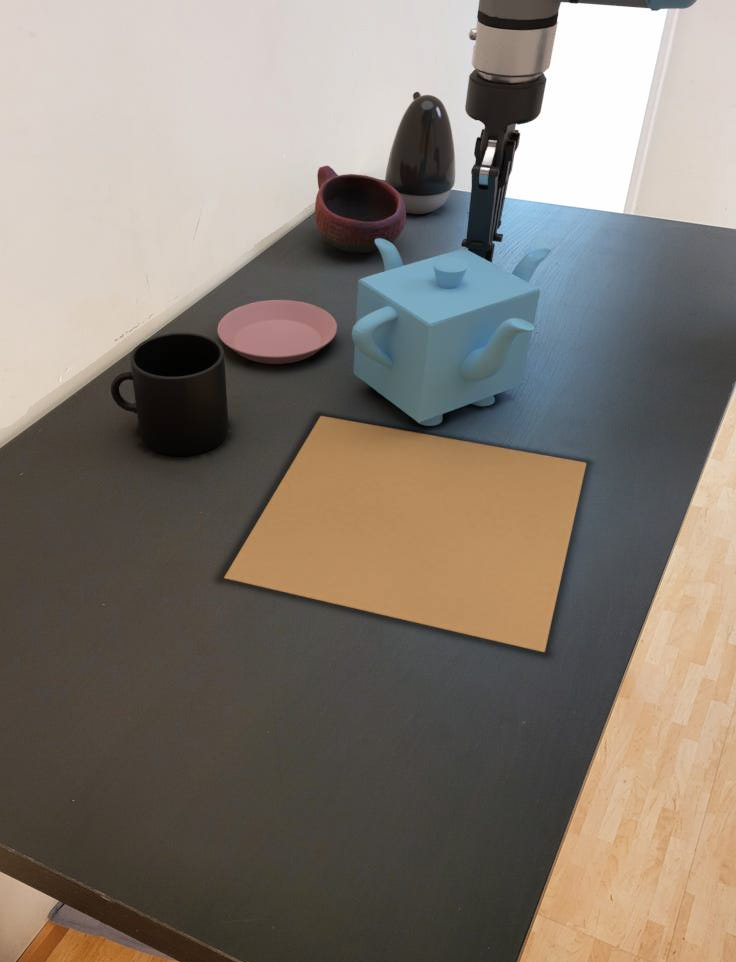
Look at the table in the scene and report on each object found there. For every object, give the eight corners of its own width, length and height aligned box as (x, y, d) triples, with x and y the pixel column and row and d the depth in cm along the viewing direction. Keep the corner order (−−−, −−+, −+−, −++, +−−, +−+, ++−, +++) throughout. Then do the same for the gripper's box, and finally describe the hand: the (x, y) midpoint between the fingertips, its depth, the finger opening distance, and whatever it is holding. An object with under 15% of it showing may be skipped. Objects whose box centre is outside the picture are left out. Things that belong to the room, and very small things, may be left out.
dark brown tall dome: (439, 192, 146) (450, 82, 135) (460, 217, 138) (474, 103, 128) (375, 198, 145) (382, 87, 134) (393, 223, 137) (402, 109, 127)
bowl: (420, 240, 133) (426, 181, 127) (375, 273, 126) (379, 212, 120) (324, 218, 140) (325, 160, 134) (276, 248, 132) (275, 189, 127)
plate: (360, 347, 112) (361, 331, 110) (262, 385, 106) (262, 368, 105) (290, 304, 120) (290, 289, 119) (195, 337, 114) (194, 321, 113)
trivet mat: (586, 464, 94) (586, 462, 94) (544, 653, 76) (544, 652, 76) (320, 417, 101) (320, 415, 101) (223, 579, 83) (223, 577, 83)
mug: (125, 407, 104) (114, 330, 97) (233, 409, 103) (229, 332, 96) (108, 455, 97) (95, 376, 90) (223, 458, 96) (218, 379, 89)
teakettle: (338, 429, 99) (344, 295, 89) (367, 344, 112) (375, 218, 102) (520, 450, 96) (548, 313, 85) (528, 360, 108) (554, 231, 98)
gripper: (484, 50, 97) (453, 272, 114) (456, 86, 89) (428, 320, 106) (557, 56, 95) (515, 281, 112) (536, 94, 87) (494, 330, 104)
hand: (473, 300), depth 109 cm, fingers closed
